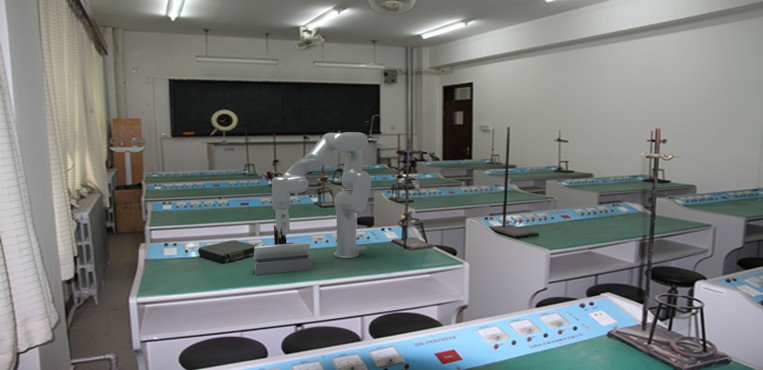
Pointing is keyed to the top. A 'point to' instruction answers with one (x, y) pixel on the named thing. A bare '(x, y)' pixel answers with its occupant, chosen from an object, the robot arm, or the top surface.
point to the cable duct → (282, 264)
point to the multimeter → (276, 235)
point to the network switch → (227, 251)
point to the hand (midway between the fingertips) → (282, 246)
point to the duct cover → (281, 250)
